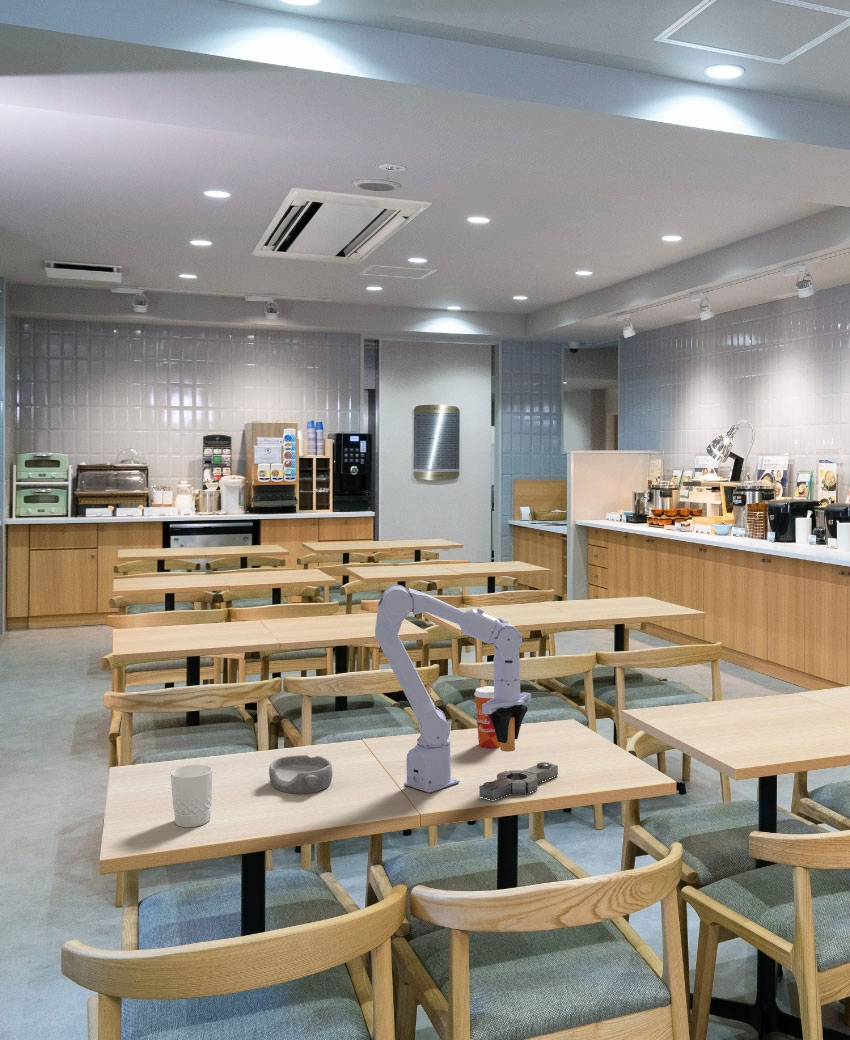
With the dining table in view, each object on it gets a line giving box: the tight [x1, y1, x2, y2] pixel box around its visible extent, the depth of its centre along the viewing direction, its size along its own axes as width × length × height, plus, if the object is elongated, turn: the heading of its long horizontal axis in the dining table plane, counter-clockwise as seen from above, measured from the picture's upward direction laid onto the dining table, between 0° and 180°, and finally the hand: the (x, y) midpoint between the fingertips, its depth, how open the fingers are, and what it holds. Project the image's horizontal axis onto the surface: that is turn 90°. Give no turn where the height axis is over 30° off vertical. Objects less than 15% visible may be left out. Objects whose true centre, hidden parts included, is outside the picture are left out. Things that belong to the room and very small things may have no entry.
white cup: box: [170, 764, 213, 828], centre depth 178 cm, size 8×8×10 cm
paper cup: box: [473, 685, 500, 749], centre depth 226 cm, size 8×8×14 cm
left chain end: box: [478, 779, 538, 800], centre depth 193 cm, size 14×8×3 cm, turn 135°
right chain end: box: [496, 761, 559, 789], centre depth 197 cm, size 16×8×3 cm, turn 135°
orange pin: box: [499, 716, 516, 753], centre depth 199 cm, size 3×3×7 cm
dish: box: [268, 754, 333, 795], centre depth 199 cm, size 14×14×5 cm
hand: (507, 740), depth 199 cm, fingers closed on orange pin, 3 cm apart
